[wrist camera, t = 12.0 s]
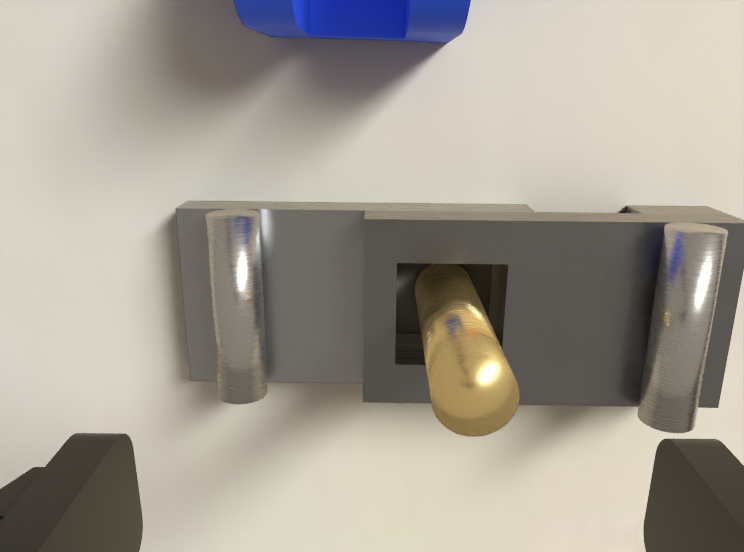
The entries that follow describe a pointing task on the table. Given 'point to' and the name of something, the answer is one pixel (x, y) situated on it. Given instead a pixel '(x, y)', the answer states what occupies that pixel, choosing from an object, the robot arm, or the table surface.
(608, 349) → the grey plate with pins
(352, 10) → the bracket
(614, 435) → the table surface
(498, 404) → the pin
